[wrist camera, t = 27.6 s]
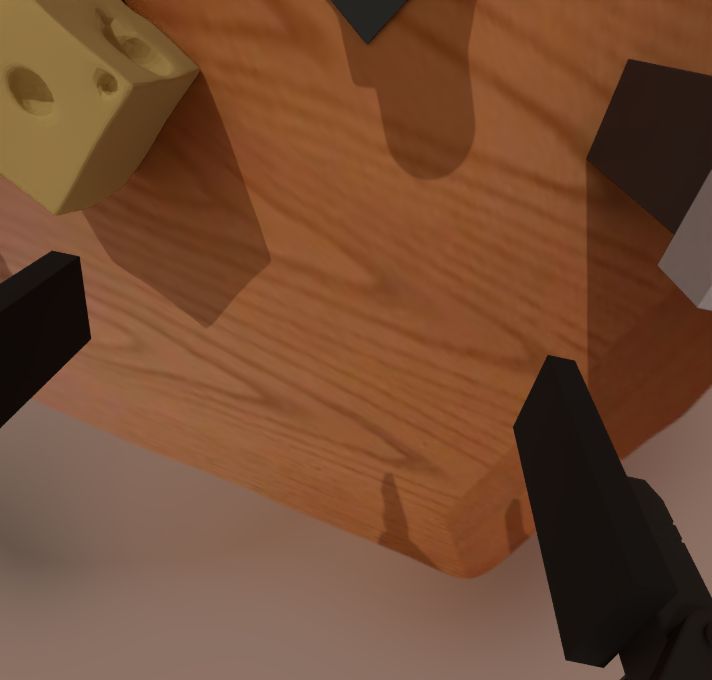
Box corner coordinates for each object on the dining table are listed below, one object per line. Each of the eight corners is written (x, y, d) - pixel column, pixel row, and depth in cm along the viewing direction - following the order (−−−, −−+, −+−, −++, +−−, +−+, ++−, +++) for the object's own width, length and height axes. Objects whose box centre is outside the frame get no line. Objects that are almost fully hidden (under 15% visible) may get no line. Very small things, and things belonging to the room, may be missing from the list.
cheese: (68, -69, 30) (-68, -101, 22) (214, 73, 33) (145, 92, 25) (4, 72, 35) (-127, 90, 26) (137, 184, 38) (58, 231, 30)
